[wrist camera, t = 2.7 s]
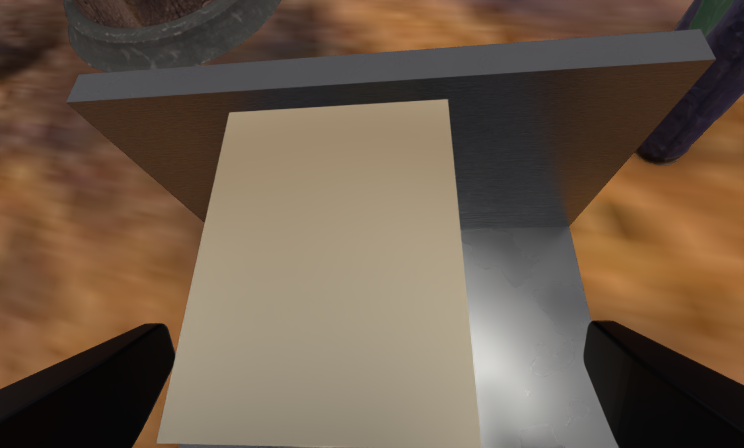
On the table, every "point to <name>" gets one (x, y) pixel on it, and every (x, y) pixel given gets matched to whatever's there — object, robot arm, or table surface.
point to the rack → (473, 180)
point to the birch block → (329, 287)
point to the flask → (703, 81)
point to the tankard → (160, 30)
